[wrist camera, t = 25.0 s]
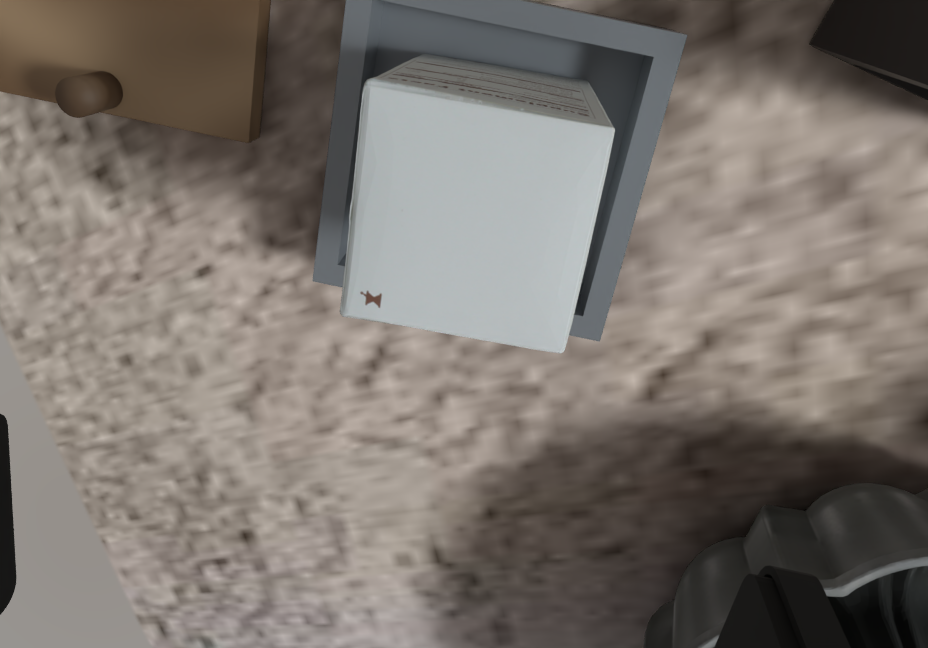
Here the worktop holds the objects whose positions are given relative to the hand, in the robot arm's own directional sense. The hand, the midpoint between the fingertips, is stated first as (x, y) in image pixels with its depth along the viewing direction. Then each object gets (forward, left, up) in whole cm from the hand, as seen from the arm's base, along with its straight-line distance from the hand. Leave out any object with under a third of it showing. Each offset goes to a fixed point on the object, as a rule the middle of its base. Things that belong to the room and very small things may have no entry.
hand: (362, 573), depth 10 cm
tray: (0, 0, -28) cm, 28 cm away
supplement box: (0, 0, -27) cm, 27 cm away
